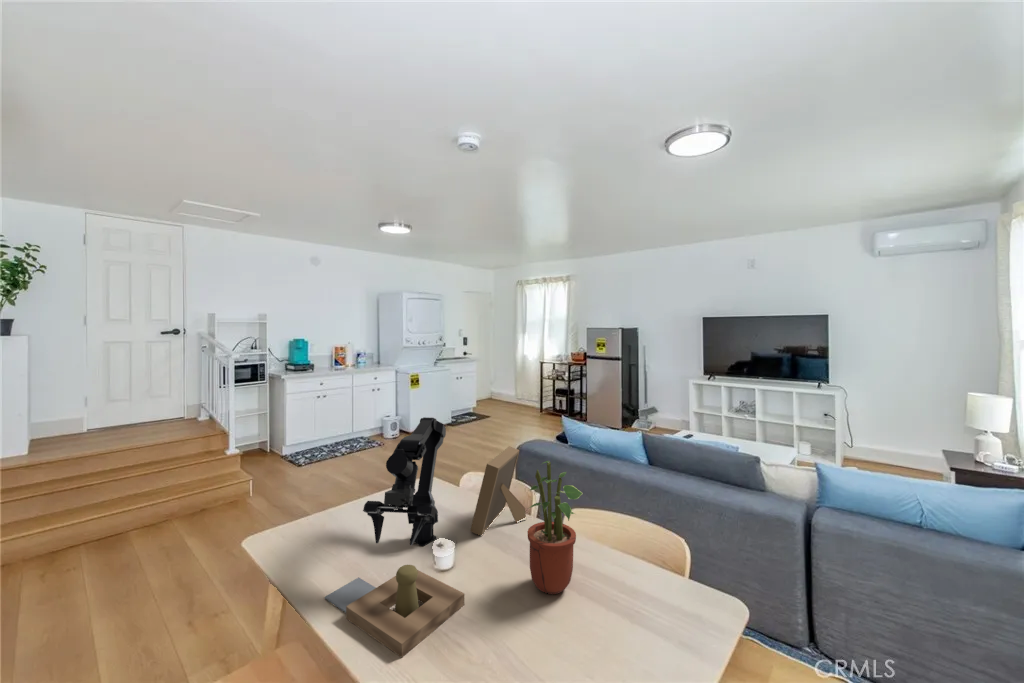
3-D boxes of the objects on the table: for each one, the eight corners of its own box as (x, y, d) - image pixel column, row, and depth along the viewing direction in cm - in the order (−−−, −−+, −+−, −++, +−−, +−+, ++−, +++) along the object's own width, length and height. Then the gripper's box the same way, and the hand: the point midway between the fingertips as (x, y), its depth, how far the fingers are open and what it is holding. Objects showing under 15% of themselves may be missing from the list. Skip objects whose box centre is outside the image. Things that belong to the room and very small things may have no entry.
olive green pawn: (412, 622, 96) (412, 577, 95) (389, 618, 97) (389, 573, 97) (423, 605, 102) (423, 562, 101) (401, 601, 103) (401, 559, 103)
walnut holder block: (410, 576, 113) (410, 566, 113) (464, 605, 102) (464, 593, 102) (346, 618, 97) (346, 606, 97) (401, 657, 85) (401, 643, 85)
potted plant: (564, 610, 100) (566, 471, 99) (510, 589, 108) (511, 460, 107) (587, 573, 116) (589, 452, 115) (538, 557, 123) (539, 444, 122)
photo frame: (469, 534, 137) (471, 461, 136) (494, 507, 157) (495, 444, 157) (510, 542, 132) (512, 467, 131) (530, 514, 153) (532, 449, 152)
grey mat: (358, 579, 112) (358, 577, 112) (381, 592, 106) (381, 590, 106) (324, 598, 104) (324, 596, 104) (347, 614, 98) (347, 612, 98)
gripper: (362, 474, 108) (347, 539, 100) (431, 477, 107) (421, 542, 99) (376, 484, 118) (363, 543, 109) (439, 486, 116) (431, 547, 108)
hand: (393, 544), depth 106 cm, fingers open, 9 cm apart
